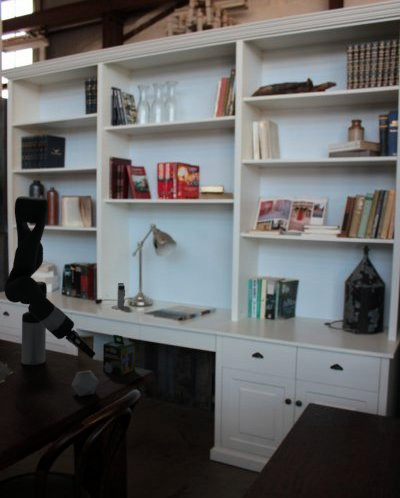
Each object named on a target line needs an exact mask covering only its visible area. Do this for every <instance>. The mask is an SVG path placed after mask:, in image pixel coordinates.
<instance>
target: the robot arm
mask: <svg viewBox="0 0 400 498" xmlns="http://www.w3.org/2000/svg"><path fill="white" fill-rule="evenodd" d="M48 215H49V203H48V200H47V199H46V198H43V197H35V196H25V195H24V196H22V195H21V196H17V198H16V199H15V201H14V219H15V226H16V233H17V236H16V237H17V243H16V244H17V246H16V249H15V250H14V259H13V262H12V264H13V265H12V268H11V270H10V272H9V274H8V277H7V279H6V282H5V284H4V294H5V297H6V299H7V300H8V301H9V302H10V303H20V304H21V305H28V306H27V310H28V311H26V312H24V313H22V316H21V364H23V365H25V366H37V365H41V364H44V363H45V362H46V344H47V343H46V342H47V341H46V340H47V339H46V338H47V333H46V332H47V331H48V332H49V333H50V334H51V335H53V336H54V337H55V338H56V339H57V340H62V339H65V340H67V342H69V343H70V344H72V345H73V346H74V347H75V348H77V349H78V348H80V349H81V350H82V351H83V352H85V353H86V354H87V355H88V356H89V357H90V358H92V357H93V358H94V356H95V355H96V352H95V351H94V349H93V350H92V349H90V348H89V346H88V345H87V344H86V343H85V342H84V340H83V339H82V338H81V337H80V336H79V335H80V334H79V333H78V332H77V331H76V330H75V329H74V327H75V323H74V320H72V319H71V318H70V317H69V316H68V315H67V314H66V313H65V312H64V311H63V310H61V309H60V308H59V307H58V306H56V305H55V304H54V303H53V302H52V301H51V300H49V299H48V298H47V296H48V295H47V293H48V288H47V287H48V286H47V283H46V282H45V281H36V280H35V279H34V278H33V277H32V276H33V275H34V274H35V273H37V271H38V270H39V269H40V268H41V266H42V264H43V262H44V245H43V244H42V242H41V241H42V238H43V235H44V232H45V231H44V230H45V227H46V224H47V220H48ZM29 224H35V225H34V226H33V229H31V228H30V226H29ZM46 330H47V331H46ZM83 345H86V346H84V347H83V348H81V347H82V346H83Z"/></svg>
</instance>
